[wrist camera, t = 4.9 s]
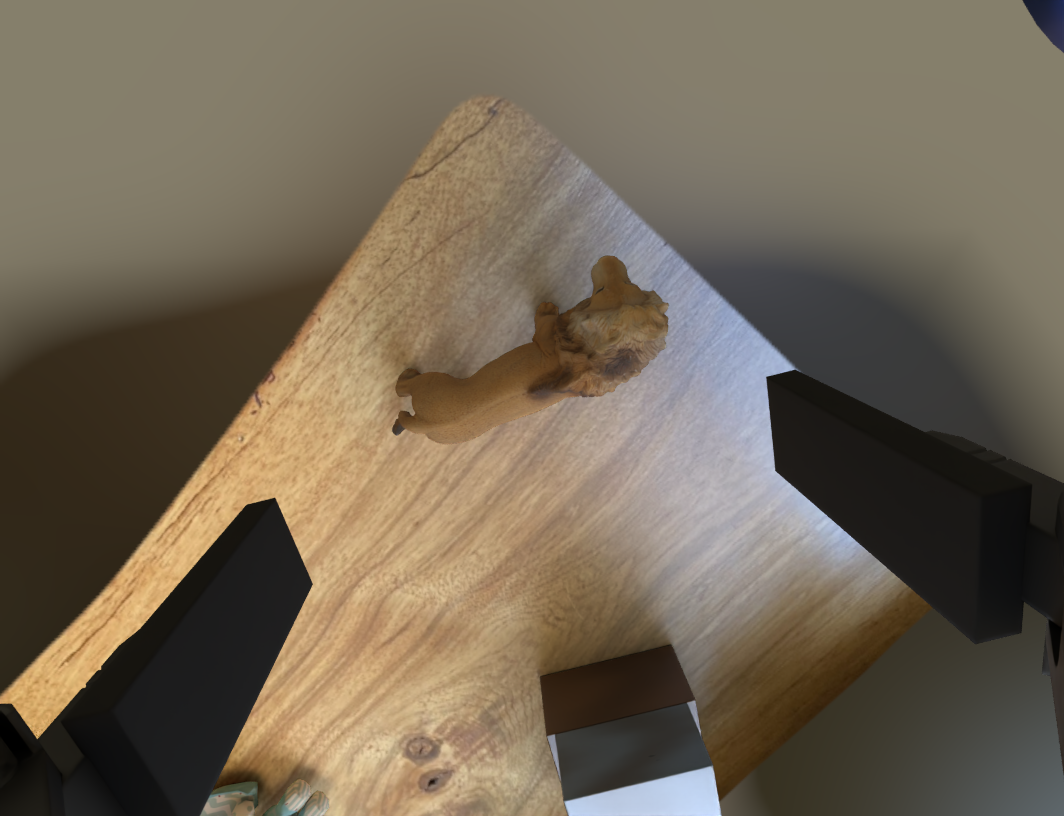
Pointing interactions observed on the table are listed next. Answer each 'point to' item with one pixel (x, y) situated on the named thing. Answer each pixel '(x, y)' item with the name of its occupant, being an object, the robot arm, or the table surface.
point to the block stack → (629, 739)
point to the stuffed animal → (236, 803)
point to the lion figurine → (545, 362)
